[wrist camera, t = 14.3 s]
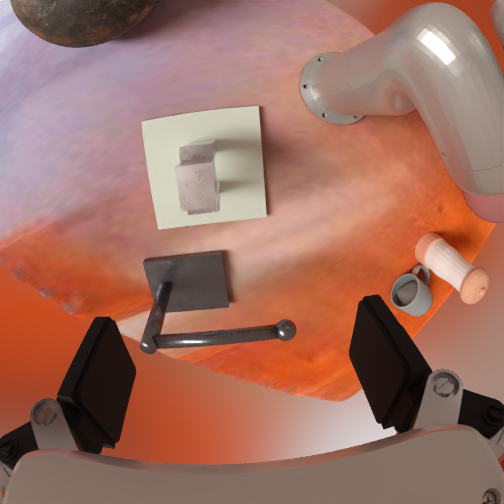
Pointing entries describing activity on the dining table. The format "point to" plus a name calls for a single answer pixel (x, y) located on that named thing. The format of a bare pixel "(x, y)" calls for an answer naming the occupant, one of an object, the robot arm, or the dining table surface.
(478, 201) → the balloon
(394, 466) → the robot arm
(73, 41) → the jug
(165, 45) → the dining table surface
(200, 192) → the stepped metal block
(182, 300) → the stand
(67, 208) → the dining table surface
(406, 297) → the ceramic mug
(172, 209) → the mat
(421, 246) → the salt shaker
